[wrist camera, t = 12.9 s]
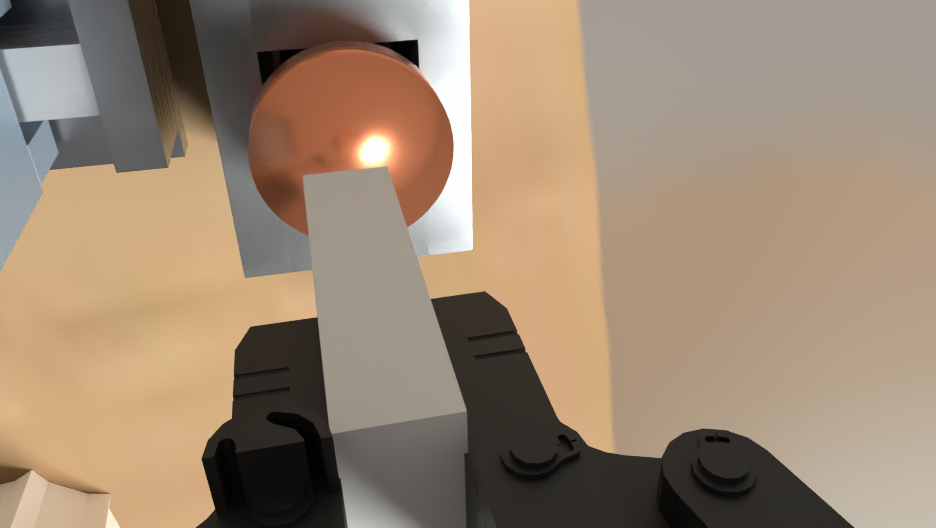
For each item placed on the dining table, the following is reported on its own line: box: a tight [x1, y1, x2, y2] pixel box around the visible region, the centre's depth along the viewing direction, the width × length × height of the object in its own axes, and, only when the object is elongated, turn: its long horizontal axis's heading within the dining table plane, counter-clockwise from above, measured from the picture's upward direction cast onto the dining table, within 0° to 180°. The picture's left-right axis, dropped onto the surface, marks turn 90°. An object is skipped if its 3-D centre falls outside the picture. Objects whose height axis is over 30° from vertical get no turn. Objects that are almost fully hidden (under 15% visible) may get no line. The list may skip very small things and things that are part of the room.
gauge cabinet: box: [189, 0, 473, 278], centre depth 22 cm, size 6×8×8 cm
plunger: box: [248, 41, 454, 236], centre depth 21 cm, size 4×4×9 cm
